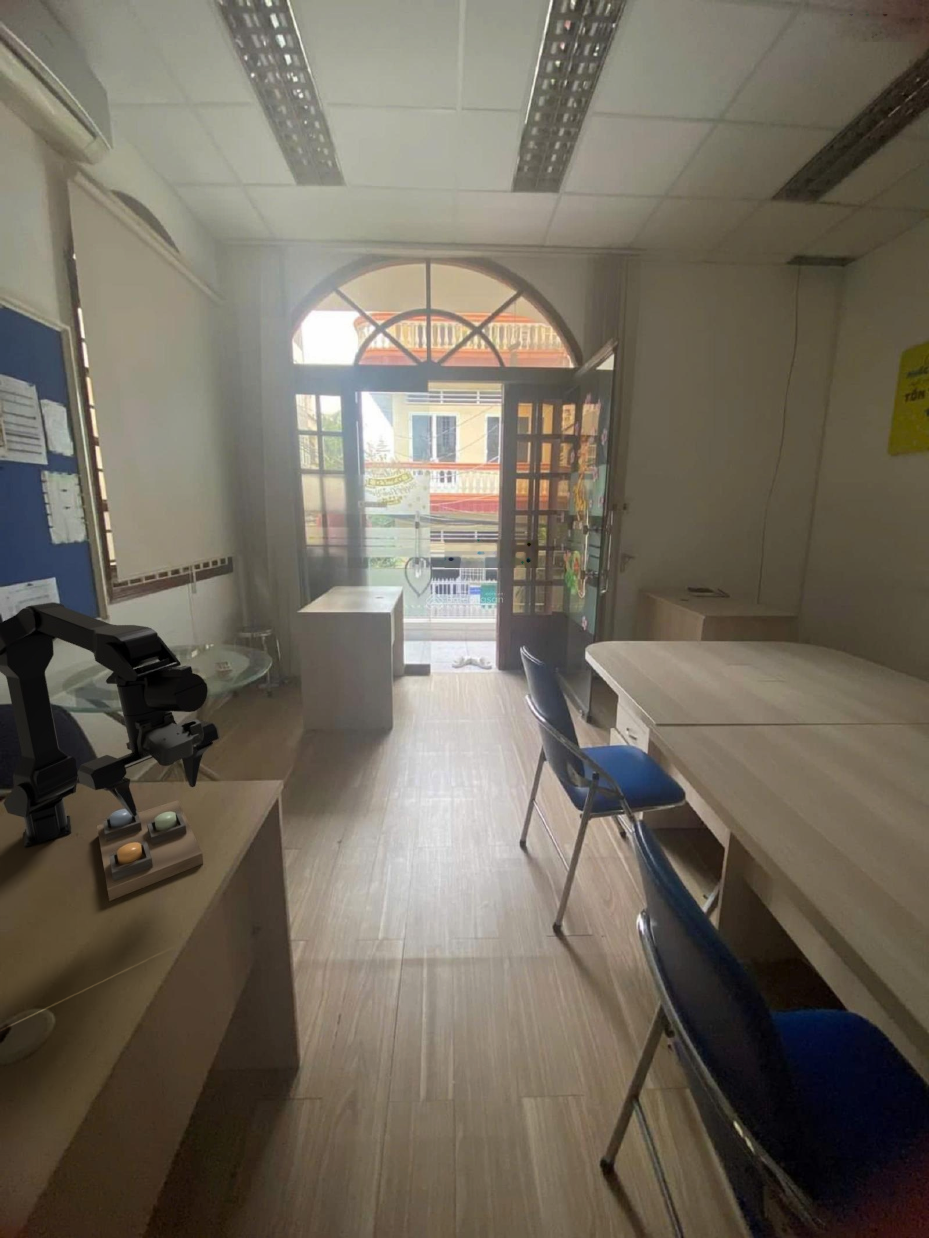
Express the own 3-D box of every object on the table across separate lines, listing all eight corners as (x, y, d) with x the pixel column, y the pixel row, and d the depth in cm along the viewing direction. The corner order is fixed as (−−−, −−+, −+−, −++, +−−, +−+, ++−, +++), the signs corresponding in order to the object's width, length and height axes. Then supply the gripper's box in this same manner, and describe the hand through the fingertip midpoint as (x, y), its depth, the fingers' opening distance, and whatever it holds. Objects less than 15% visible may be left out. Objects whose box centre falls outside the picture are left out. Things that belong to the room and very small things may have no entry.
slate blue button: (109, 821, 88) (108, 813, 88) (131, 814, 90) (130, 806, 90) (111, 829, 86) (110, 821, 85) (133, 822, 88) (132, 814, 87)
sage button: (154, 824, 87) (153, 816, 87) (174, 817, 89) (173, 809, 89) (157, 833, 85) (156, 824, 84) (178, 825, 87) (177, 817, 87)
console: (98, 835, 89) (95, 817, 88) (179, 808, 97) (177, 792, 97) (109, 901, 74) (106, 880, 74) (203, 863, 83) (201, 844, 82)
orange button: (117, 856, 79) (115, 847, 79) (140, 848, 81) (139, 839, 81) (119, 867, 77) (118, 858, 76) (143, 858, 79) (142, 849, 78)
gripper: (100, 741, 64) (126, 847, 67) (230, 694, 80) (246, 782, 82) (64, 729, 70) (89, 827, 73) (192, 688, 85) (208, 770, 88)
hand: (164, 800), depth 79 cm, fingers open, 9 cm apart
